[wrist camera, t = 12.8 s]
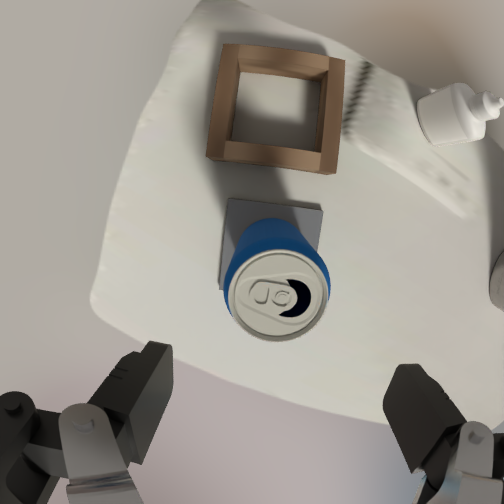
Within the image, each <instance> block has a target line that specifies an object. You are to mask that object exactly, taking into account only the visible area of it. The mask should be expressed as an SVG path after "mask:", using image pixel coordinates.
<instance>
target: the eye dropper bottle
mask: <svg viewBox="0 0 504 504" xmlns="http://www.w3.org/2000/svg"><path fill="white" fill-rule="evenodd" d="M503 106H504V100H503V99H502V98H495V96H494V95H493V94H492V93H490V92H488V91H484V92H481V93H478V94H475V92H474V91H473V90H472V89H471V88H470V87H469V86H468V85H467V84H465V83H453V84H451V85H448V86H446V87H444V88H442V89H439V90H437V91H435V92H433V93H431V94H429V95H427V96H425V97H423V98H421V99H419V100H418V102H417V113H418V118H419V122H420V125H421V128H422V130H423V133H424V135H425V136H426V138H427V140H428V141H429V143H430V144H431V145H432V146H434V147H439V146H445V145H451V144H458V143H464V142H470V141H476V140H480V139H482V138H483V137H484V135H485V128H486V121H487V120H492V119H496V118H498V117H499V115H500V108H501V107H503Z"/></svg>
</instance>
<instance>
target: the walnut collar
mask: <svg viewBox="0 0 504 504" xmlns="http://www.w3.org/2000/svg"><path fill="white" fill-rule="evenodd" d="M240 72H248V73H259V74H268V75H277V76H284V77H291V78H298V79H304V80H309V81H315V82H320V83H321V87H320V99H319V110H318V120H317V130H316V140H315V149H314V152H312V151H306V150H300V149H293V148H286V147H279V146H271V145H263V144H255V143H246V142H236V141H231V135H232V127H233V120H234V113H235V105H236V98H237V92H238V85H239V78H240ZM344 75H345V60H342V59H338V58H333V57H329V56H324V55H319V54H314V53H308V52H303V51H296V50H290V49H283V48H275V47H265V46H255V45H241V44H223V49H222V54H221V60H220V65H219V71H218V77H217V83H216V89H215V95H214V101H213V108H212V114H211V121H210V128H209V135H208V143H207V151H206V157H208V158H209V159H211V160H215V161H227V162H237V163H246V164H255V165H263V166H271V167H279V168H286V169H293V170H300V171H306V172H312V173H318V174H324V175H329V174H335V173H336V170H337V162H338V153H339V143H340V132H341V121H342V108H343V94H344Z"/></svg>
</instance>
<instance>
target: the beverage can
mask: <svg viewBox="0 0 504 504" xmlns="http://www.w3.org/2000/svg"><path fill="white" fill-rule="evenodd" d="M330 287H331V285H330V277H329V272H328V270H327V267H326V265H325V263H324V261H323V260H322V258H321V257H320V256H319V254H318V253H317V252H316V251H315V250H314V248H313V247H312V246H311V245H310V243H309V242H308V241H307V240H306V239H305V237H304V236H303V235H302V234H301V233H300V231H299V230H298V229H297V228H296V227H295V226H293V225H292V224H291V223H289V222H287V221H285V220H282V219H278V218H266V219H262V220H259V221H256V222H255V223H253V224H251V225H250V226H249V227H248V228H247V229H246V230H245V231H244V232H243V233H242V235H241V237H240V239H239V241H238V244H237V246H236V249H235V251H234V254H233V256H232V259H231V261H230V264H229V266H228V269H227V272H226V274H225V279H224V286H223V291H224V298H225V302H226V305H227V308H228V310H229V312H230V314H231V315H232V317H233V318H234V320H235V321H236V322H237V324H238V325H239V326H240V327H241V328H242V329H243V330H244V331H245V332H247V333H248V334H250V335H251V336H253V337H255V338H257V339H260V340H264V341H269V342H285V341H290V340H294V339H296V338H299V337H301V336H303V335H305V334H306V333H308V332H309V331H311V330H312V329H313V328H314V327H315V326H316V325H317V324H318V323H319V321H320V320H321V318H322V317H323V315H324V313H325V310H326V307H327V303H328V300H329V296H330Z"/></svg>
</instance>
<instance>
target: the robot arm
mask: <svg viewBox="0 0 504 504" xmlns="http://www.w3.org/2000/svg"><path fill="white" fill-rule="evenodd" d="M490 298H491V301H492V303H493V304H494V305H495V306H496V307H497V308H499V309H500V310H502V311H504V251H503V253H502V254H501V255H500V257H499V258H498V260H497V262H496V264H495V267H494V269H493V272H492V276H491V281H490ZM172 389H173V350H172V346H171V345H169V344H164V343H159V342H154V341H149V342H148V343H147V345H146V346H145V347H144V349H143V350H142V352H141V353H139V352H134V351H133V352H131V353H130V354H128V355H126V356H124V357H122V358H121V360H120V361H119V362H118V364H117V365H116V366H115V369H113V370H112V371H111V372H110V374H109V376H107V377H106V379H105V380H104V381H103V383H102V384H101V385H100V387H99V388H98V389H97V391H96V392H95V393H94V394H93V396H92V397H91V399H90V400H89V401H88V402H87V403H80V404H74V405H71V406H69V407H67V408H66V409H64V410H63V411H62V413H56V412H50V411H45V410H40V409H36V407H35V405H34V403H33V401H32V399H31V398H30V397H29V396H28V395H27V394H25V393H22V392H17V391H12V392H7V393H5V394H3V395H1V396H0V504H47V502H48V500H49V498H50V496H51V494H52V492H53V490H54V488H55V486H56V484H57V482H58V480H59V479H60V477H63V478H68V479H69V482H70V484H69V485H67V486H66V492H67V497H68V500H69V503H70V504H144V503H143V501H142V499H141V497H140V495H139V493H138V491H137V488H136V487H135V484H134V482H133V480H132V478H131V477H130V475H129V472H128V470H127V468H128V466H129V464H130V462H134V463H137V464H140V465H142V463H143V460H144V458H145V456H146V453H147V451H148V448H149V446H150V444H151V441H152V439H153V437H154V434H155V432H156V430H157V427H158V425H159V422H160V420H161V418H162V415H163V413H164V411H165V408H166V406H167V404H168V401H169V399H170V397H171V393H172ZM383 411H384V413H385V415H386V418H387V420H388V422H389V424H390V426H391V428H392V431H393V433H394V435H395V437H396V439H397V442H398V444H399V446H400V448H401V451H402V453H403V455H404V457H405V460H406V462H407V464H408V467H409V469H410V472H411V474H414V473H418V472H422V471H425V473H426V475H425V476H424V477H423V478H422V480H421V482H420V485H419V487H418V490H417V493H416V495H415V498H414V500H413V503H412V504H504V480H503V477H504V433H495V434H493V433H492V431H491V430H490V429H489V428H488V427H487V426H486V425H484V424H482V423H480V422H476V421H470V422H467V421H466V419H465V418H464V417H463V415H462V414H461V412H460V411H459V410H458V408H457V407H456V406H455V404H454V403H453V402H452V400H451V399H450V400H449V396H448V395H447V394H446V393H444V390H443V388H442V387H441V386H440V385H439V383H438V382H437V381H435V380H434V379H432V378H431V377H430V376H428V375H427V373H426V372H425V371H424V369H423V368H422V367H421V366H420V365H419V364H400V365H399V366H398V367H397V368H396V370H395V373H394V375H393V378H392V380H391V382H390V385H389V387H388V389H387V391H386V394H385V396H384V399H383Z"/></svg>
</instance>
